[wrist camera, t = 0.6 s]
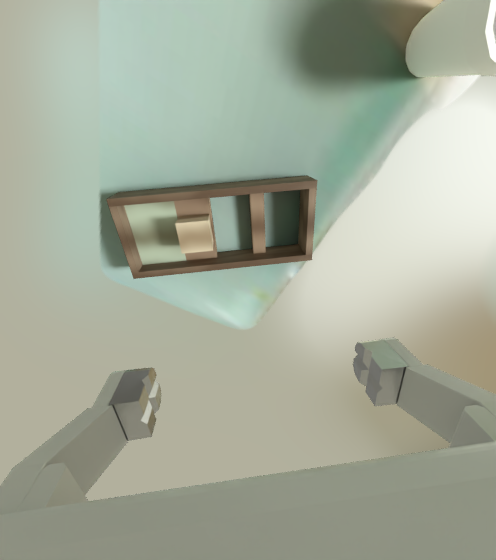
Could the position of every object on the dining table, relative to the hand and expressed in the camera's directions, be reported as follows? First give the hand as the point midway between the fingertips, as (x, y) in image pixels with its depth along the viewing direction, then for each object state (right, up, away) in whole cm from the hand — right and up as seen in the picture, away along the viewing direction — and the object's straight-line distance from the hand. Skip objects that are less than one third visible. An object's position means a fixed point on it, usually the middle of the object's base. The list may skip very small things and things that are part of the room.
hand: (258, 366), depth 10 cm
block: (-8, +11, +28) cm, 32 cm away
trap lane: (-5, +13, +30) cm, 33 cm away
